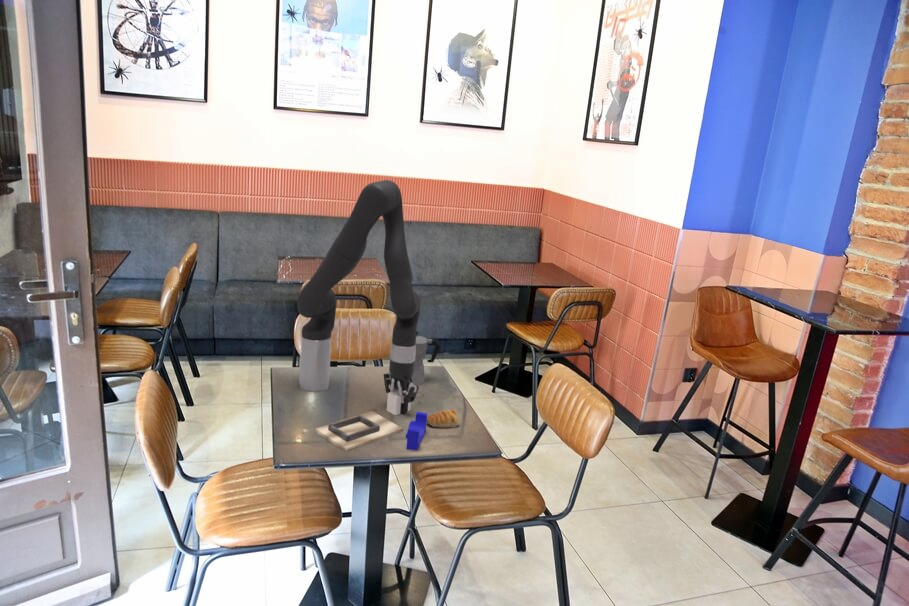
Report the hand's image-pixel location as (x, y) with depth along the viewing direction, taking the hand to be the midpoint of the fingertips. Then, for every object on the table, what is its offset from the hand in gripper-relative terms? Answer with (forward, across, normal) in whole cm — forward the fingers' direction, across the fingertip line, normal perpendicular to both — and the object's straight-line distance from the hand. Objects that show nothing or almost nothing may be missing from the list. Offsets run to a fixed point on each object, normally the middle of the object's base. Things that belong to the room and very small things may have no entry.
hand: (398, 410), depth 191 cm
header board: (0, +4, -18) cm, 18 cm away
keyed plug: (0, 0, 0) cm, 0 cm away
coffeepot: (+1, -15, +21) cm, 26 cm away
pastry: (+1, +12, +4) cm, 12 cm away
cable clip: (+1, +16, -9) cm, 19 cm away
